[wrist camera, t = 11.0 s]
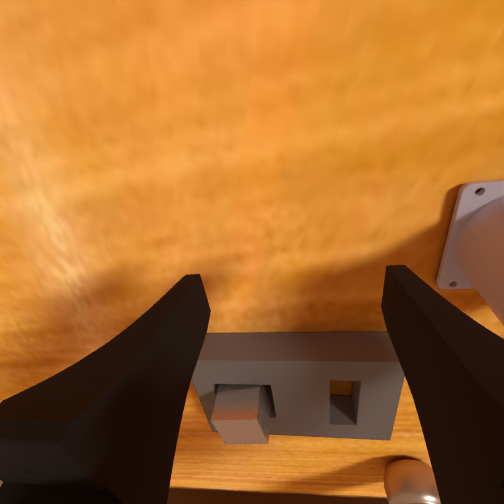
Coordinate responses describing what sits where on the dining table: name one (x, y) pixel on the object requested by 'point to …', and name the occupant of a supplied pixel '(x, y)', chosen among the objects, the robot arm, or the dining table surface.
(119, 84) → the dining table surface
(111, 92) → the dining table surface
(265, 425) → the square bit
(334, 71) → the dining table surface
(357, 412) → the socket block
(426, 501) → the plastic bottle
